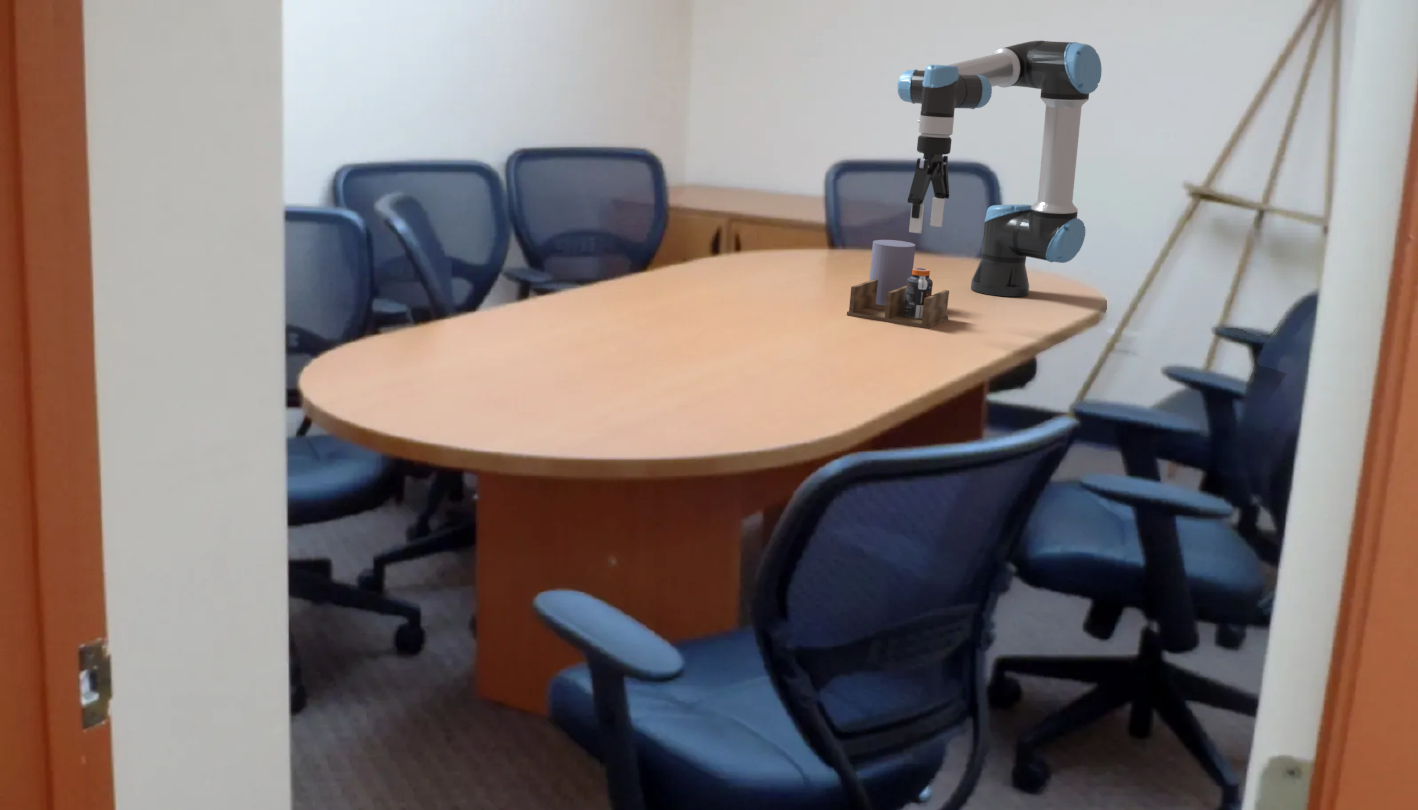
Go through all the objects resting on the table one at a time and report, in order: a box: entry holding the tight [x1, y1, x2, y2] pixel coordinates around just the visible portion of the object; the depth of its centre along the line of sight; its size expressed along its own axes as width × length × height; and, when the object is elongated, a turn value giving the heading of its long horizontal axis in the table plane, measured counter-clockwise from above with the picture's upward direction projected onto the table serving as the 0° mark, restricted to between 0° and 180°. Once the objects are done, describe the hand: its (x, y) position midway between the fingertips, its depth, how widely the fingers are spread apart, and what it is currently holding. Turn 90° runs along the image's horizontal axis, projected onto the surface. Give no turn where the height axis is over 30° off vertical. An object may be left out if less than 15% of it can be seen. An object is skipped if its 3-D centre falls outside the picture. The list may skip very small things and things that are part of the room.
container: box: [868, 239, 916, 306], centre depth 332 cm, size 10×10×15 cm
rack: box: [846, 279, 950, 329], centre depth 317 cm, size 14×20×7 cm
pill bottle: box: [904, 267, 934, 319], centre depth 314 cm, size 6×6×11 cm
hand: (925, 229), depth 310 cm, fingers open, 13 cm apart
